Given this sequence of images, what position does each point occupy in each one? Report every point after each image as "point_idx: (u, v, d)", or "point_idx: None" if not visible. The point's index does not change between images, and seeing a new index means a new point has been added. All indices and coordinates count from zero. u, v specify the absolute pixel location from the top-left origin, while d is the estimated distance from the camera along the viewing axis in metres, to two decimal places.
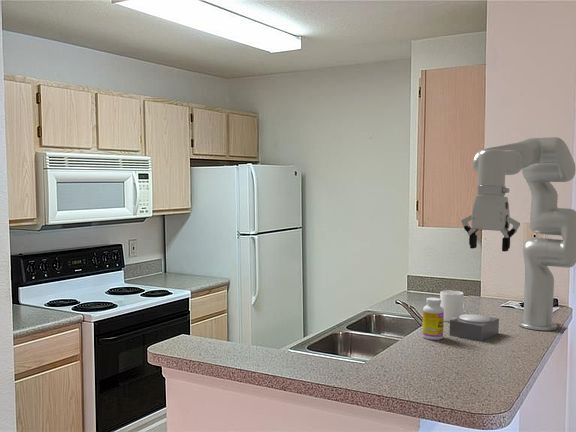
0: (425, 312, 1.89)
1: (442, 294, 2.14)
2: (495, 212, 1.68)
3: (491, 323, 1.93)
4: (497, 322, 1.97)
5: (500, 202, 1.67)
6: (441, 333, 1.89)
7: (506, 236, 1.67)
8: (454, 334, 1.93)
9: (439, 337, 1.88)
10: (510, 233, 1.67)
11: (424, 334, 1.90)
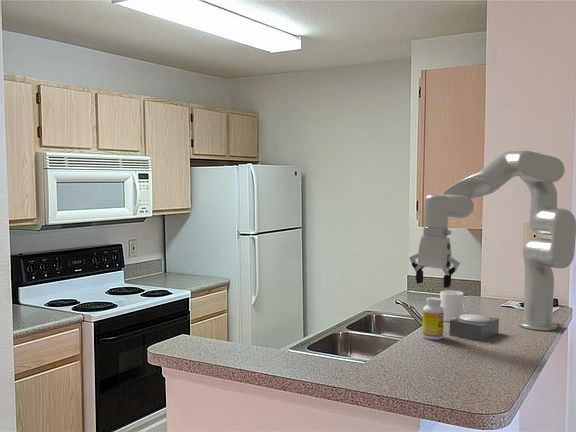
0: (425, 312, 1.89)
1: (442, 294, 2.14)
2: (438, 252, 1.86)
3: (491, 323, 1.93)
4: (497, 322, 1.97)
5: (442, 243, 1.85)
6: (441, 333, 1.89)
7: (447, 274, 1.85)
8: (454, 334, 1.93)
9: (439, 337, 1.88)
10: (451, 271, 1.85)
11: (424, 334, 1.90)
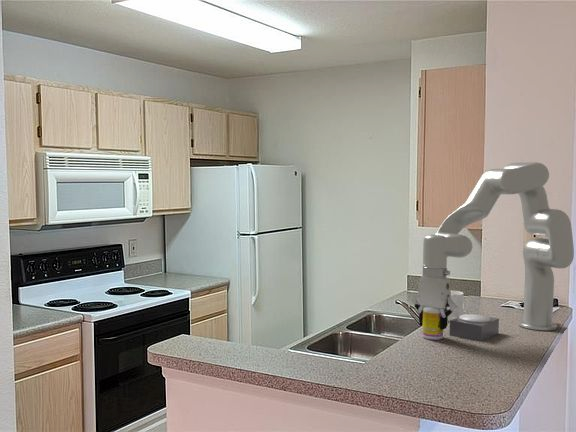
0: (425, 312, 1.89)
1: None
2: (437, 292, 1.87)
3: (491, 323, 1.93)
4: (497, 322, 1.97)
5: (441, 283, 1.86)
6: (441, 333, 1.89)
7: (443, 316, 1.87)
8: (454, 334, 1.93)
9: (439, 337, 1.88)
10: (447, 313, 1.86)
11: (424, 334, 1.90)
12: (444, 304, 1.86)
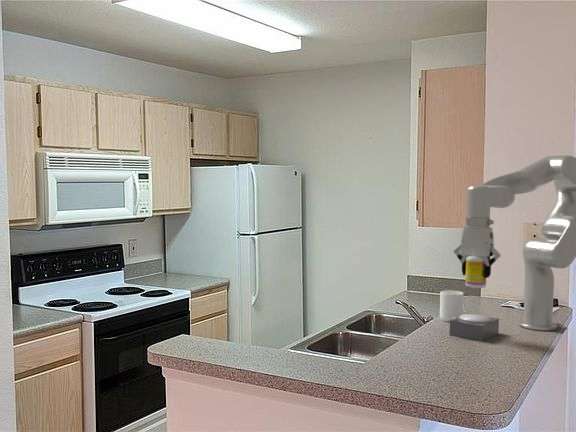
0: (469, 261, 1.93)
1: (442, 294, 2.14)
2: (481, 241, 1.91)
3: (491, 323, 1.93)
4: (497, 322, 1.97)
5: (485, 232, 1.90)
6: (484, 281, 1.93)
7: (487, 264, 1.91)
8: (454, 334, 1.93)
9: (482, 285, 1.92)
10: (490, 262, 1.91)
11: (467, 283, 1.94)
12: (488, 252, 1.90)
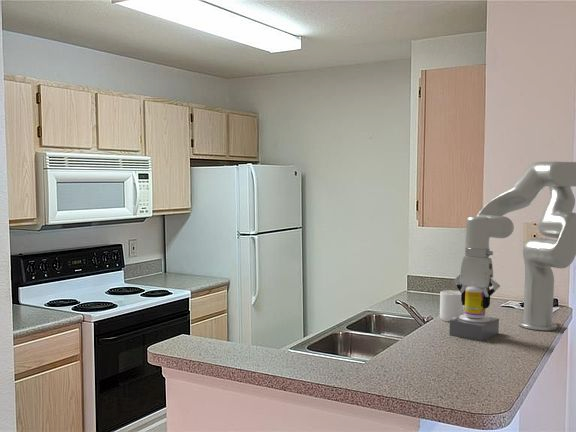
0: (468, 291, 1.94)
1: (442, 294, 2.14)
2: (480, 272, 1.91)
3: (491, 323, 1.93)
4: (497, 322, 1.97)
5: (484, 263, 1.91)
6: (484, 312, 1.93)
7: (486, 295, 1.92)
8: (454, 334, 1.93)
9: (482, 316, 1.93)
10: (490, 293, 1.91)
11: (467, 313, 1.94)
12: (487, 283, 1.91)
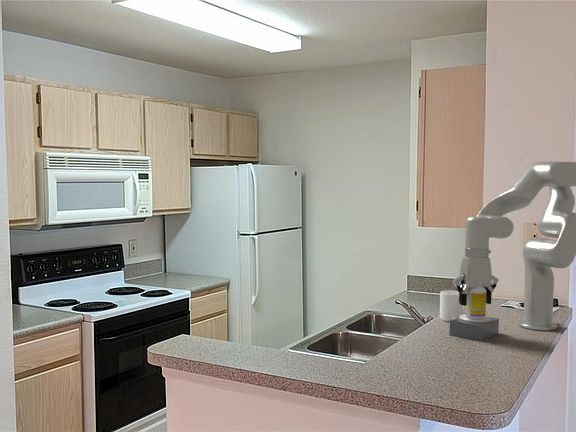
0: (478, 294, 1.92)
1: (442, 294, 2.14)
2: (487, 271, 1.93)
3: (491, 323, 1.93)
4: (497, 322, 1.97)
5: (489, 262, 1.94)
6: None
7: (491, 291, 1.96)
8: (454, 334, 1.93)
9: None
10: (493, 288, 1.97)
11: (477, 315, 1.93)
12: None
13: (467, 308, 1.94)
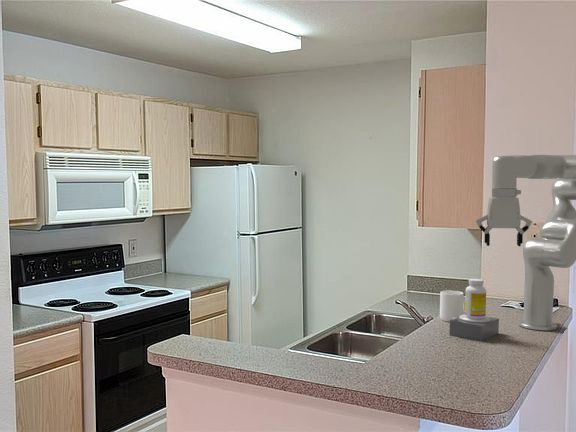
0: (478, 294, 1.92)
1: (442, 294, 2.14)
2: (513, 212, 1.88)
3: (491, 323, 1.93)
4: (497, 322, 1.97)
5: (516, 203, 1.88)
6: None
7: (521, 232, 1.89)
8: (454, 334, 1.93)
9: None
10: (524, 230, 1.90)
11: (477, 315, 1.93)
12: (519, 223, 1.89)
13: (467, 308, 1.94)
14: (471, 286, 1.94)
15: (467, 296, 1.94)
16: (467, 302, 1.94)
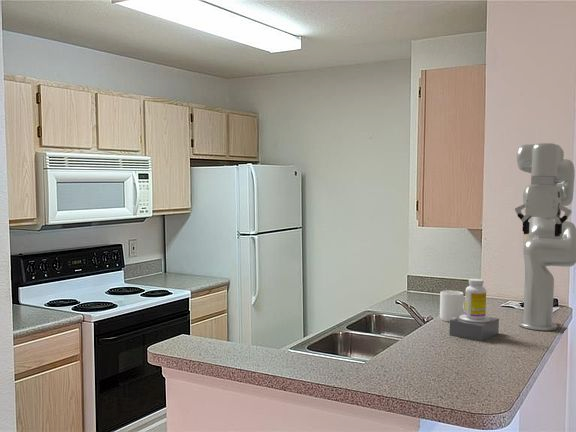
0: (478, 294, 1.92)
1: (442, 294, 2.14)
2: (548, 200, 1.84)
3: (491, 323, 1.93)
4: (497, 322, 1.97)
5: (553, 191, 1.83)
6: None
7: (558, 222, 1.83)
8: (454, 334, 1.93)
9: None
10: (562, 219, 1.83)
11: (477, 315, 1.93)
12: (556, 212, 1.83)
13: (467, 308, 1.94)
14: (471, 286, 1.94)
15: (467, 296, 1.94)
16: (467, 302, 1.94)
